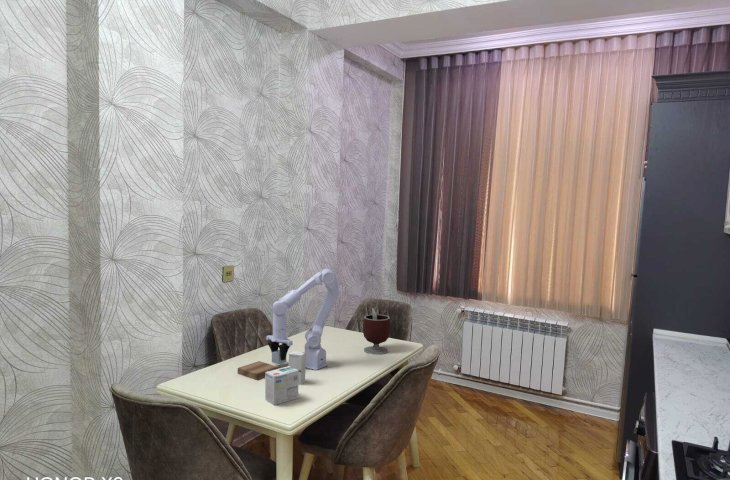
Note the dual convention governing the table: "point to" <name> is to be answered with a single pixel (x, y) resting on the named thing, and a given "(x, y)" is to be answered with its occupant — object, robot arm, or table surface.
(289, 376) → the light bulb box
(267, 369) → the walnut base
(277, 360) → the slate cube
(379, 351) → the mate gourd
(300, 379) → the skincare box
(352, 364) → the table surface
